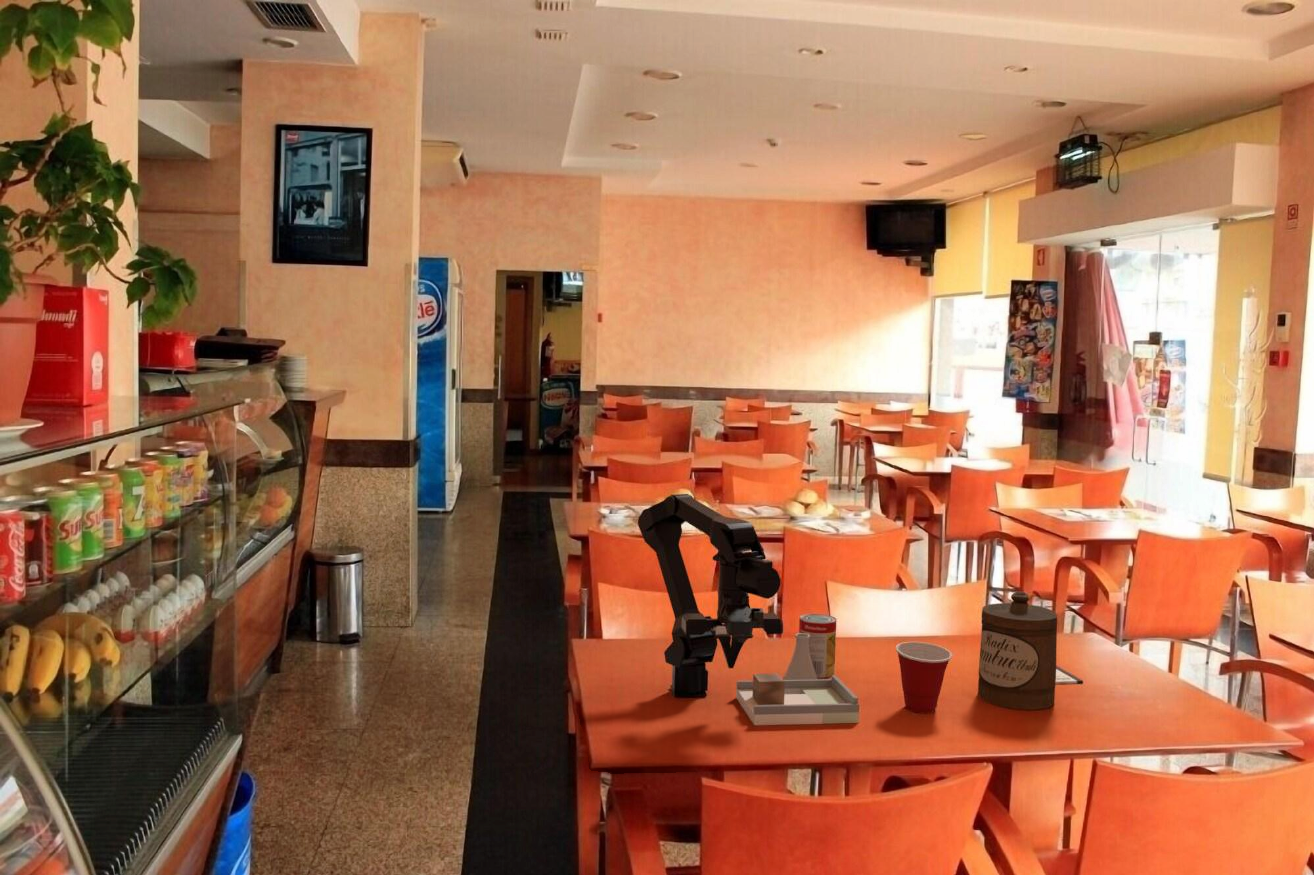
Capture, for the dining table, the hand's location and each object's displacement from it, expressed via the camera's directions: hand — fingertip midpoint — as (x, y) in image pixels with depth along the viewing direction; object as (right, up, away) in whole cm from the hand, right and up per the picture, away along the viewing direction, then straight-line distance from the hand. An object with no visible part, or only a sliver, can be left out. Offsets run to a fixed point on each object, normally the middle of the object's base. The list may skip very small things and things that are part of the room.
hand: (730, 667), depth 215 cm
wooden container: (+59, -9, +13) cm, 61 cm away
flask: (+16, -7, +21) cm, 28 cm away
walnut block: (+7, -7, +2) cm, 10 cm away
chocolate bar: (+71, -8, +33) cm, 79 cm away
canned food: (+20, -7, +28) cm, 35 cm away
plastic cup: (+38, -9, +5) cm, 39 cm away
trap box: (+13, -9, +2) cm, 16 cm away
